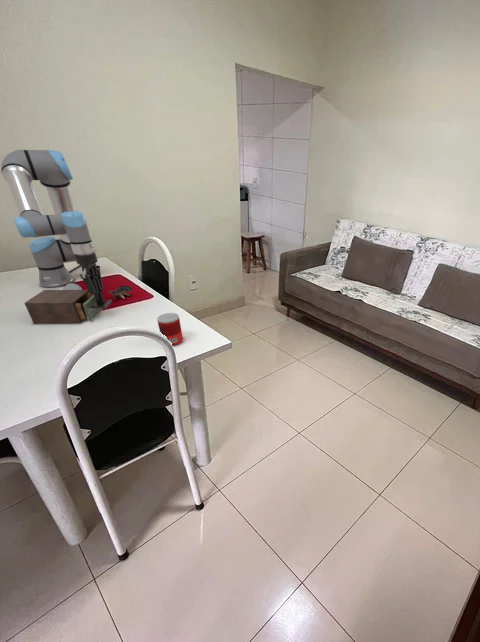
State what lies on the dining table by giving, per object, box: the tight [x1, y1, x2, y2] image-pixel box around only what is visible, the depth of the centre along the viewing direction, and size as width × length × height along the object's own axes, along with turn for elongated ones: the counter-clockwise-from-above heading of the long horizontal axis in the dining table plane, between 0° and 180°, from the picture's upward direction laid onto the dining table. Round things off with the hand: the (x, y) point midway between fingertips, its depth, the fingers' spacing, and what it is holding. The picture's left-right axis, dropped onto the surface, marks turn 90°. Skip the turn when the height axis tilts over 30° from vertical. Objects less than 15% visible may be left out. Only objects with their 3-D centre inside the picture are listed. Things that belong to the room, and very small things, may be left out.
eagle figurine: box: [108, 285, 133, 301], centre depth 162 cm, size 8×7×9 cm
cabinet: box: [24, 289, 90, 325], centre depth 143 cm, size 19×14×10 cm
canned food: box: [156, 312, 184, 347], centre depth 127 cm, size 8×8×11 cm
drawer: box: [74, 294, 113, 322], centre depth 143 cm, size 24×13×8 cm, turn 95°
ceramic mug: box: [62, 282, 83, 290], centre depth 158 cm, size 11×8×8 cm
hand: (101, 306), depth 144 cm, fingers closed
